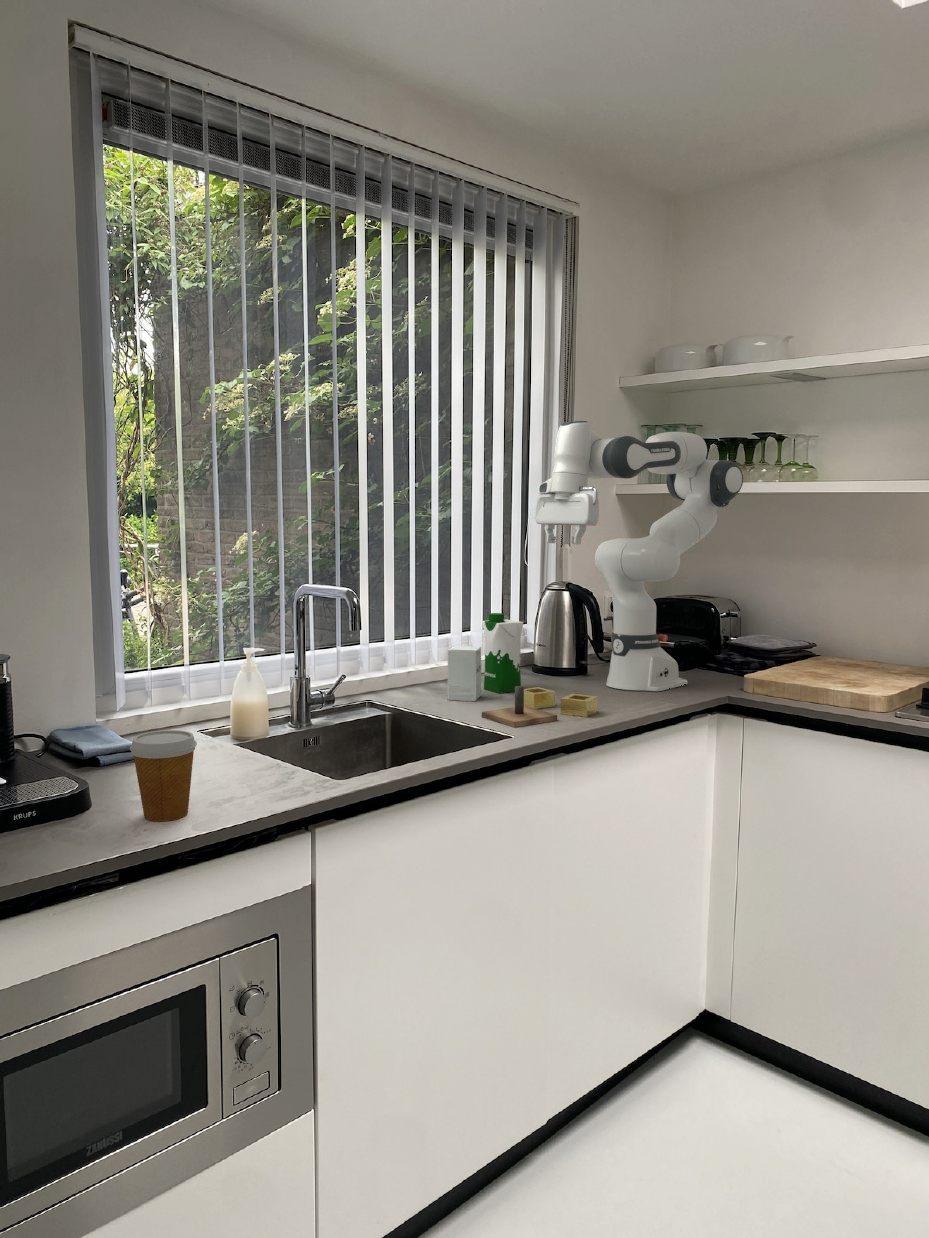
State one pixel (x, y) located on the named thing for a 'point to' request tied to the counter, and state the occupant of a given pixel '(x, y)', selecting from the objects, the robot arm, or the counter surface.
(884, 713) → the counter surface
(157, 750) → the disposable coffee cup
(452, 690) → the supplement box
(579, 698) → the link
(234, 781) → the counter surface
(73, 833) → the counter surface
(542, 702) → the link
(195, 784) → the counter surface
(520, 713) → the stand
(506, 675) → the milk carton
